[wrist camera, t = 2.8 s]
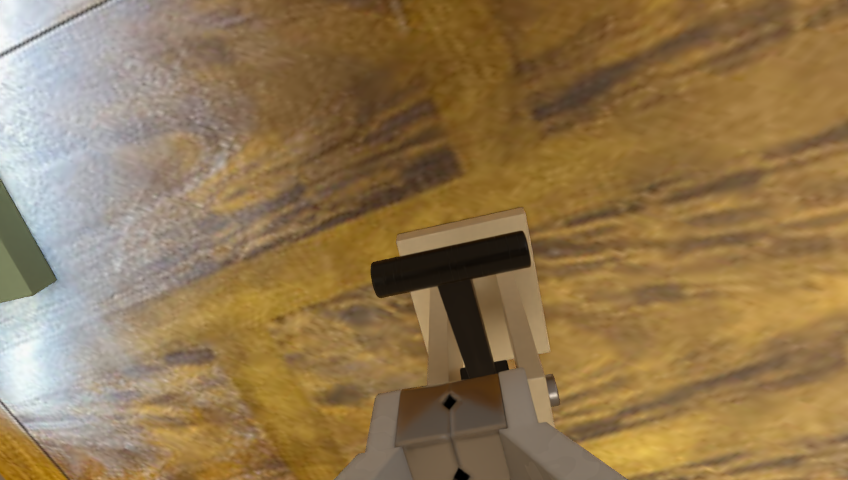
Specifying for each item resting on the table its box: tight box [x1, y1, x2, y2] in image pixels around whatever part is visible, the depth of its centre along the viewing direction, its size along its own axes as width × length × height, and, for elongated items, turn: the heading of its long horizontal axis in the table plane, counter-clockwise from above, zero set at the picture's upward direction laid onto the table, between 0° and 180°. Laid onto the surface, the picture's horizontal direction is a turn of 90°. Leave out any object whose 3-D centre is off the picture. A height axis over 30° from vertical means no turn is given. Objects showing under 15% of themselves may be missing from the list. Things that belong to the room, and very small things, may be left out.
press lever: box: [371, 230, 531, 380], centre depth 20 cm, size 12×5×2 cm, turn 13°
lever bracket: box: [396, 207, 560, 428], centre depth 28 cm, size 10×8×13 cm
